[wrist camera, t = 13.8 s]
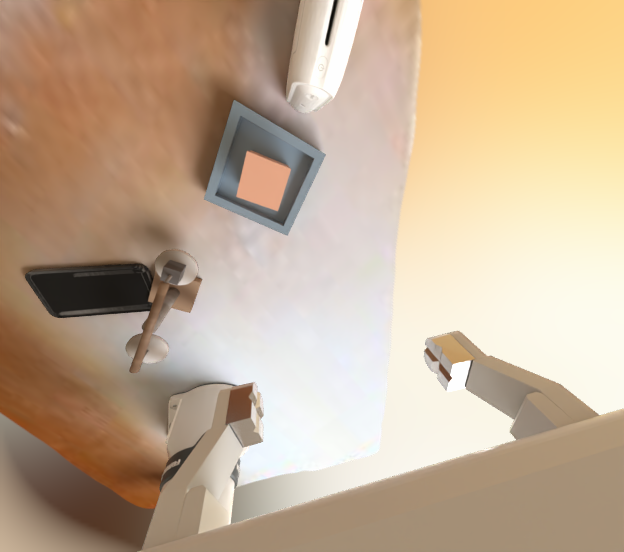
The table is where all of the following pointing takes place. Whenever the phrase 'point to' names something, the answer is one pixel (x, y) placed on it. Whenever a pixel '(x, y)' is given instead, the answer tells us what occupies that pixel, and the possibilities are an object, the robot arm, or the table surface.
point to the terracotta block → (263, 180)
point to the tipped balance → (164, 304)
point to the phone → (92, 289)
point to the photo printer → (320, 51)
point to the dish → (269, 142)
